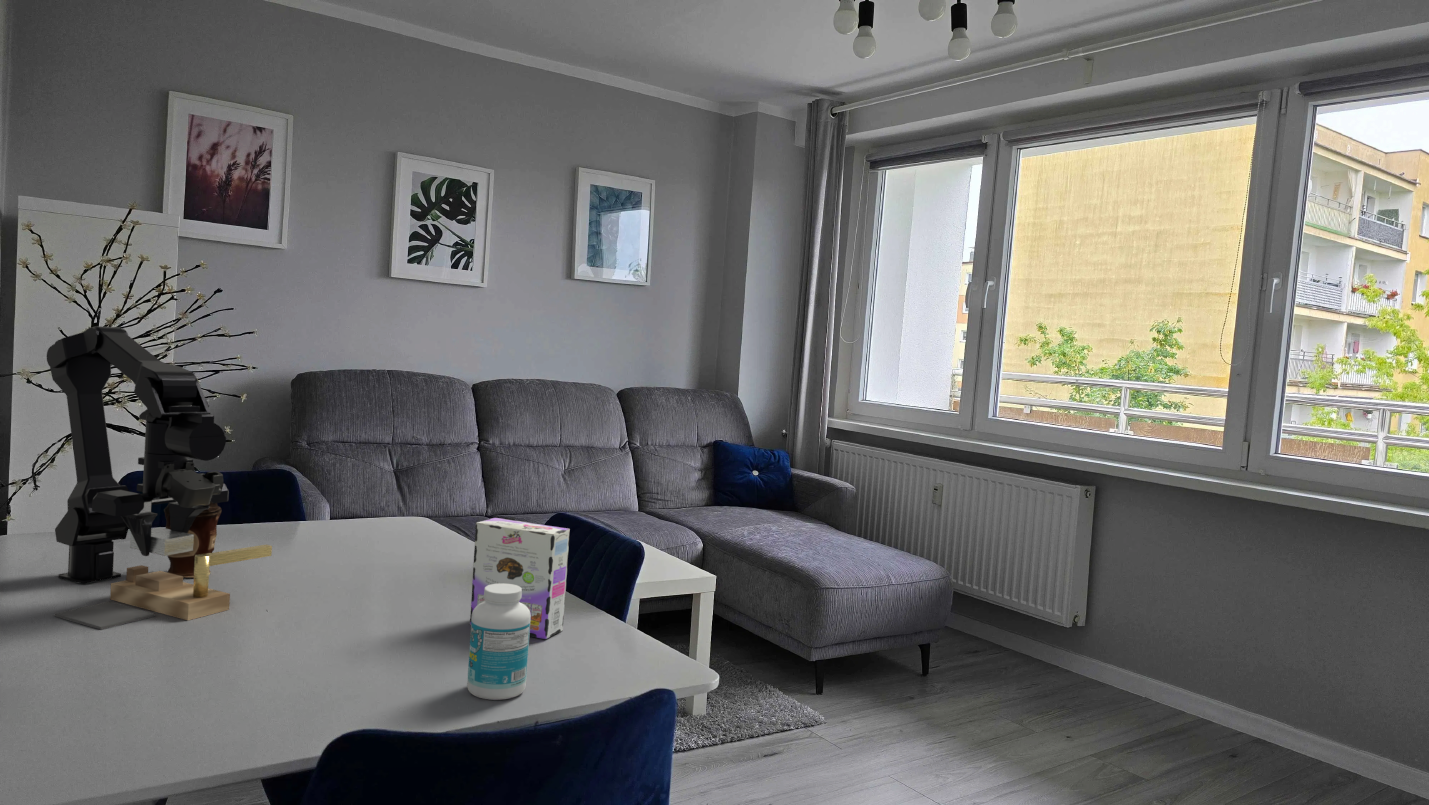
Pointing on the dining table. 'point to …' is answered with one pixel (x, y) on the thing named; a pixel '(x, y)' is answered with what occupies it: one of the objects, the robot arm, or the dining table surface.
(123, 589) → the latch plate
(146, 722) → the dining table surface
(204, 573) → the latch lever
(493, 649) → the pill bottle
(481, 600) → the candy box
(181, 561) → the brown jar
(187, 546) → the grey flat block
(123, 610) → the mat
